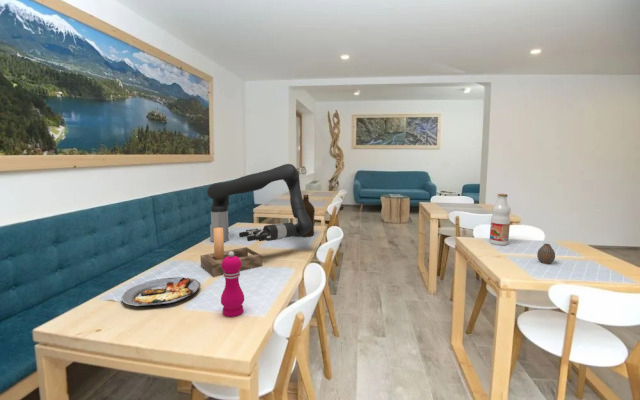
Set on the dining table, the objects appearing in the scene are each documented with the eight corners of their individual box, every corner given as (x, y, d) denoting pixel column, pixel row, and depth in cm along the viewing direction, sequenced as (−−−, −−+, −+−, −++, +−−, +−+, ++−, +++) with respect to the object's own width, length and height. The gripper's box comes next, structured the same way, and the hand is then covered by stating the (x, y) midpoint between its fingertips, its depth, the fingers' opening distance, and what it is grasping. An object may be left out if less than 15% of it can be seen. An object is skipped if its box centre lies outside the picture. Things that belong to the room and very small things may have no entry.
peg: (207, 271, 143) (205, 230, 141) (214, 265, 151) (212, 226, 149) (225, 272, 143) (224, 230, 140) (231, 265, 151) (230, 226, 148)
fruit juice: (510, 246, 184) (514, 195, 180) (491, 245, 187) (495, 194, 183) (505, 241, 193) (509, 193, 189) (487, 240, 196) (491, 192, 192)
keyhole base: (246, 257, 163) (246, 247, 162) (262, 266, 151) (261, 255, 150) (200, 266, 150) (200, 255, 149) (213, 276, 137) (213, 265, 137)
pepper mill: (223, 307, 110) (221, 248, 108) (246, 306, 111) (244, 247, 108) (219, 318, 103) (216, 255, 100) (243, 317, 104) (241, 254, 101)
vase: (552, 261, 159) (554, 243, 157) (555, 265, 152) (557, 247, 151) (535, 259, 162) (537, 241, 160) (537, 263, 155) (539, 245, 154)
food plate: (204, 279, 134) (203, 271, 134) (195, 306, 112) (194, 296, 111) (135, 286, 129) (134, 277, 128) (112, 315, 107) (111, 305, 106)
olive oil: (300, 237, 200) (300, 196, 197) (295, 233, 210) (295, 194, 207) (317, 236, 204) (317, 195, 201) (311, 232, 214) (311, 193, 211)
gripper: (267, 221, 167) (236, 226, 157) (282, 226, 156) (250, 231, 146) (267, 236, 168) (237, 241, 158) (282, 242, 157) (250, 248, 147)
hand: (243, 236), depth 152 cm, fingers open, 8 cm apart
